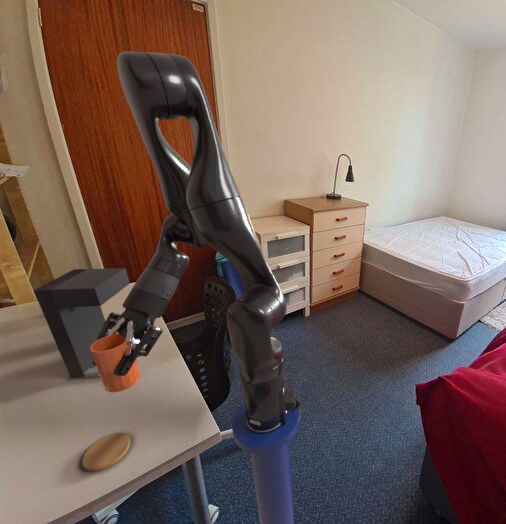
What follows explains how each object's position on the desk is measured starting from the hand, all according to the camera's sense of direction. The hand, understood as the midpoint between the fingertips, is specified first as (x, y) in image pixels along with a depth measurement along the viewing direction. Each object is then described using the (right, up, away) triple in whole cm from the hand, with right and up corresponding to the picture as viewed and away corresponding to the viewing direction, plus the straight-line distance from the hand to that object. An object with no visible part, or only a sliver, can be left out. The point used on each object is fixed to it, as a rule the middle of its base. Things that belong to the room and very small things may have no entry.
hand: (108, 369), depth 56 cm
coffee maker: (-23, -8, +28) cm, 37 cm away
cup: (0, -4, +3) cm, 5 cm away
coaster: (-2, -18, +3) cm, 19 cm away
